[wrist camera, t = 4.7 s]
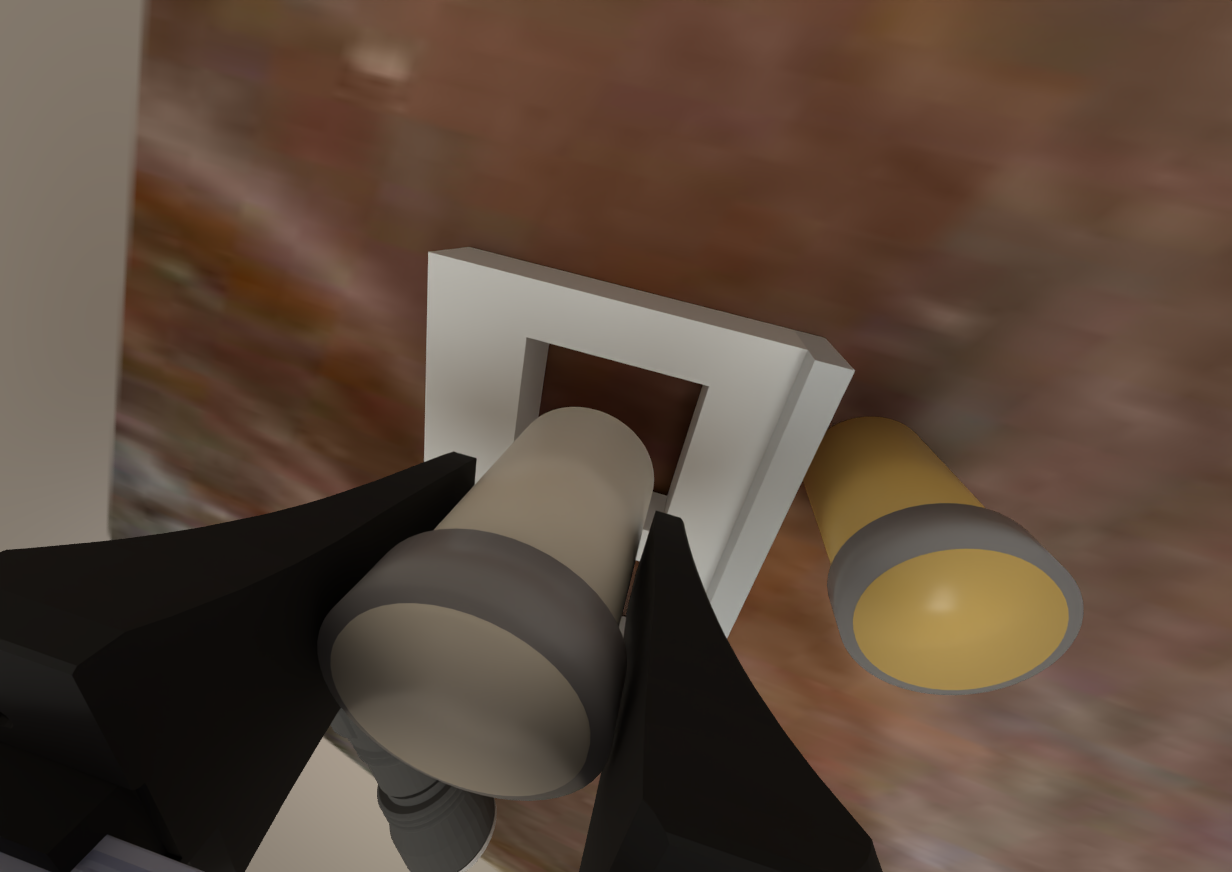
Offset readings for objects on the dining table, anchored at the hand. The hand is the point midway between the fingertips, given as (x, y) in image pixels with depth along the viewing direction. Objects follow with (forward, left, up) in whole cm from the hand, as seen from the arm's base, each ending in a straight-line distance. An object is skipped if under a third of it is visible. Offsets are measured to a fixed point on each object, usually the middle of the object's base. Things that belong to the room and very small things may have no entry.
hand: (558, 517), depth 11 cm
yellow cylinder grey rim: (-9, -1, -7) cm, 11 cm away
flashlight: (+6, +22, -7) cm, 24 cm away
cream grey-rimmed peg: (0, 0, -2) cm, 2 cm away
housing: (0, +3, -7) cm, 7 cm away
